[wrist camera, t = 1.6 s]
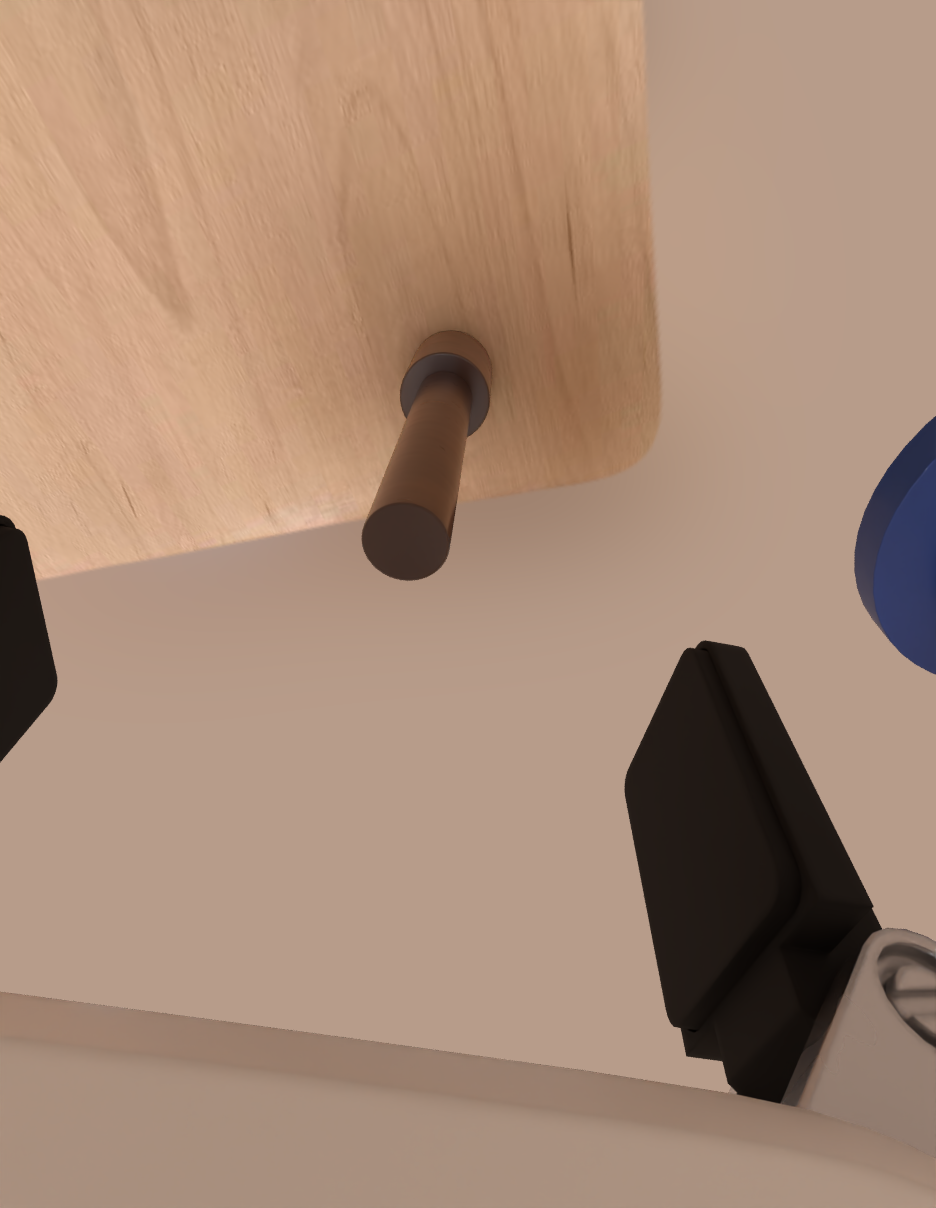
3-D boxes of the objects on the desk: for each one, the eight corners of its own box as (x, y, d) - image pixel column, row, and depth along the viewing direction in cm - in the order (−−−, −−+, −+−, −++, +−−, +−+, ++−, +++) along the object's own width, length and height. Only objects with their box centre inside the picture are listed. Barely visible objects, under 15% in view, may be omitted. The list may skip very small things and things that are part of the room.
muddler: (498, 338, 29) (489, 489, 15) (484, 418, 31) (466, 613, 17) (416, 323, 29) (336, 463, 15) (407, 405, 31) (330, 592, 17)
